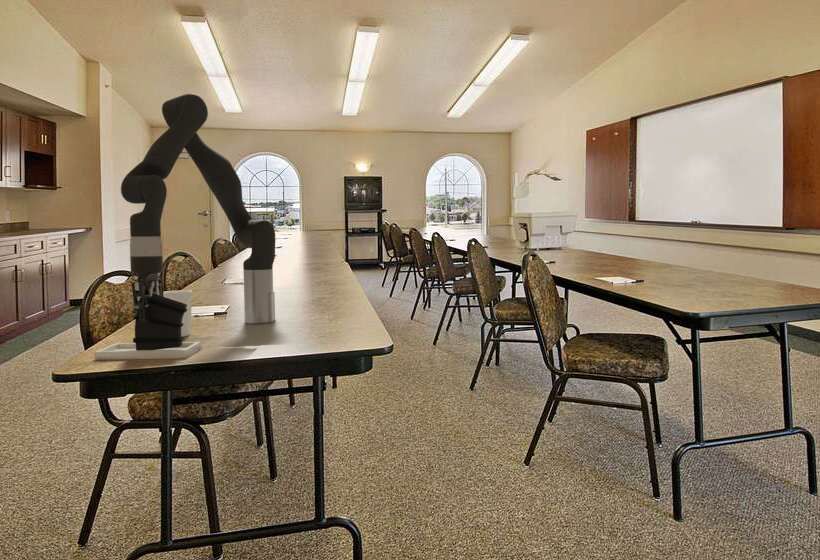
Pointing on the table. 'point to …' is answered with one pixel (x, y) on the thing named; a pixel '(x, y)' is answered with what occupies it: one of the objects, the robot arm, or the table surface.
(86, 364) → the table surface
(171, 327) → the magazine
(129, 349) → the cradle
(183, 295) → the cup
